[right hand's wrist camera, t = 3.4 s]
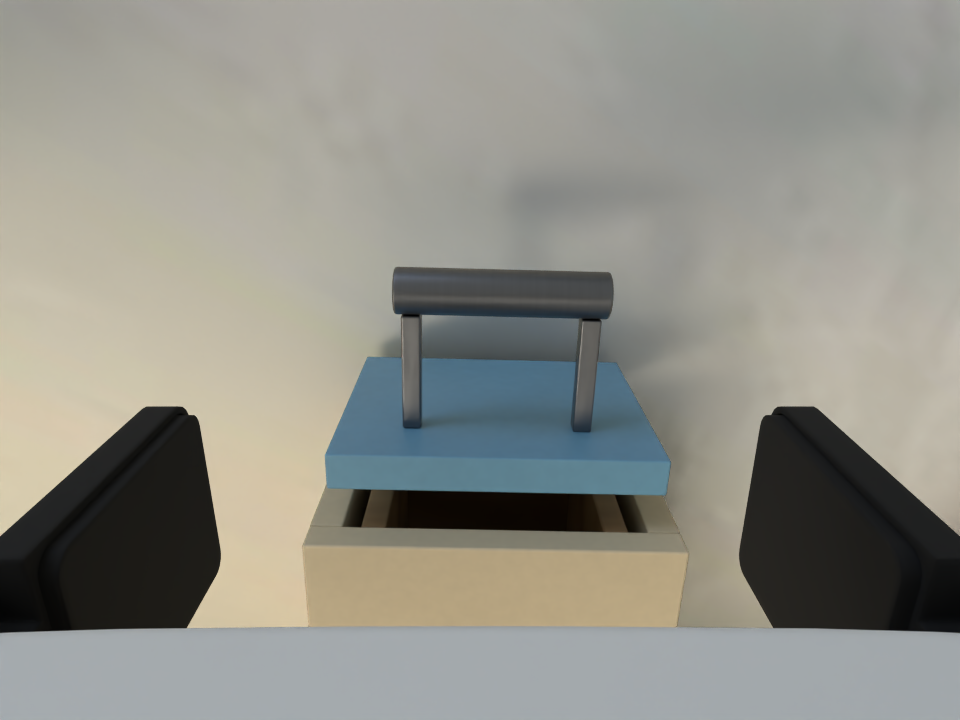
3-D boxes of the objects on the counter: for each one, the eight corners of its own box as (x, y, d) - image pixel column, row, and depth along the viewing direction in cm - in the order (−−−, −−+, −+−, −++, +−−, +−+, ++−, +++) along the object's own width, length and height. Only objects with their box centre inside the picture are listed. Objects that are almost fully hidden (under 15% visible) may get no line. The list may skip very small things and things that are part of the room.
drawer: (362, 229, 26) (313, 283, 18) (630, 236, 26) (696, 292, 18) (379, 716, 35) (352, 893, 27) (578, 719, 35) (607, 896, 27)
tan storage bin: (358, 400, 29) (300, 545, 20) (620, 406, 29) (691, 552, 20) (373, 752, 37) (336, 981, 27) (581, 755, 37) (618, 983, 27)
